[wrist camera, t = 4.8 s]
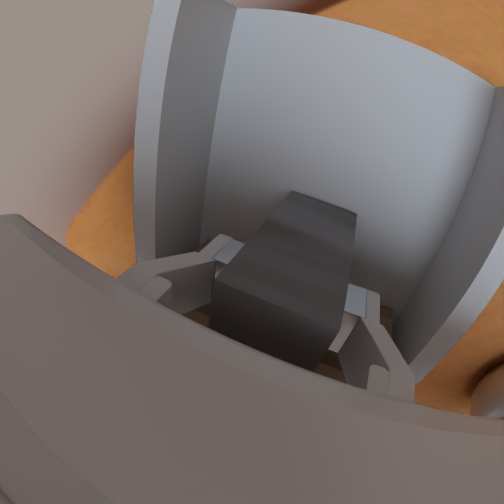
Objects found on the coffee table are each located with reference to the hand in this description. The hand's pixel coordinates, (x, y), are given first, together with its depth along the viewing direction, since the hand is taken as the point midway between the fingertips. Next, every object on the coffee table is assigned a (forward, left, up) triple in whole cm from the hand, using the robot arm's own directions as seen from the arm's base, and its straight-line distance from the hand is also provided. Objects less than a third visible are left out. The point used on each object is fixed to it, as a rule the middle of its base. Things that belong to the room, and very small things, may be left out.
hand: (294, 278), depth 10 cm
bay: (-1, 0, -5) cm, 5 cm away
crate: (-4, 0, -3) cm, 5 cm away
